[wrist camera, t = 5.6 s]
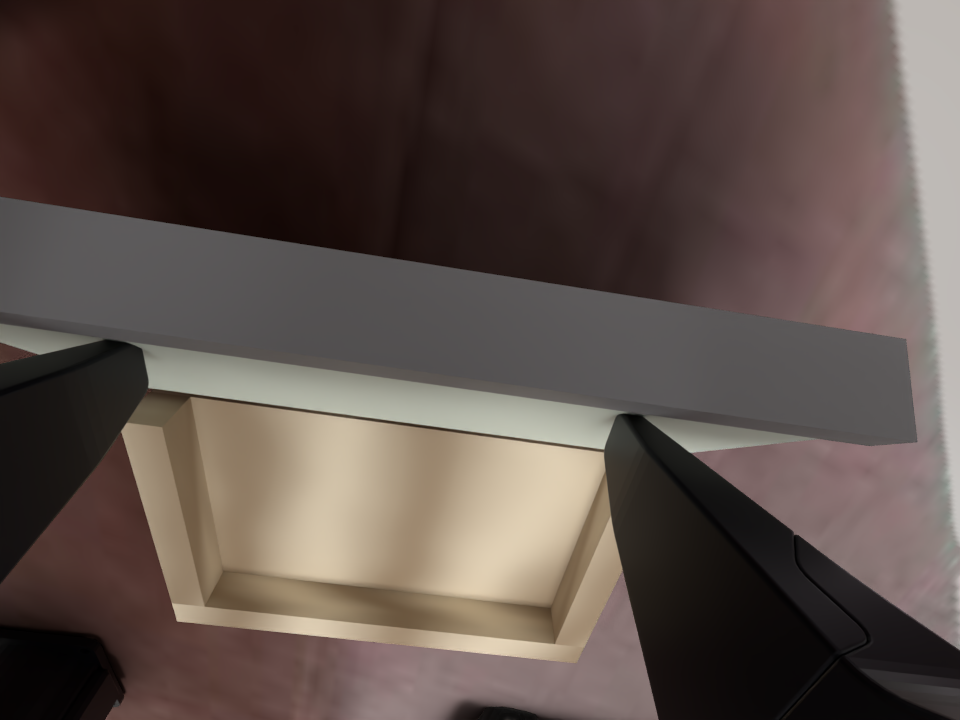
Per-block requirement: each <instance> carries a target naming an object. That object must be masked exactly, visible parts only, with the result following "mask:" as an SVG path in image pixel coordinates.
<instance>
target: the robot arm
mask: <svg viewBox="0 0 960 720" xmlns="http://www.w3.org/2000/svg"><path fill="white" fill-rule="evenodd" d="M148 386H149V379H148V374H147V369H146V364H145V359H144V354H143V350H142V348H140V347H137V346H135V345H133V344H130V343H125V342H118V341H111V340H101V341H97V342H93V343H88V344H84V345H80V346H75V347H71V348H67V349H62V350H58V351H54V352H50V353H45V354H41V355H37V356H32V357H28V358H24V359H19V360H15V361H11V362H6V363H2V364H0V584H1V583H2V582H3V580H4V579H5V578H6V577H7V575H8V574H9V573H10V572H11V571H12V569H13V568H14V567H15V566H16V565H17V563H18V562H19V561H20V560H21V558H22V557H23V556H24V555H25V554H26V552H27V551H28V550H29V549H30V548H31V546H32V545H33V544H34V543H35V541H36V540H37V539H38V538H39V537H40V535H41V534H42V533H43V532H44V531H45V529H46V528H47V527H48V526H49V524H50V523H51V522H52V521H53V520H54V518H55V517H56V516H57V515H58V514H59V512H60V511H61V510H62V509H63V507H64V506H65V505H66V504H67V503H68V501H69V500H70V499H71V498H72V497H73V495H74V494H75V493H76V492H77V490H78V489H79V488H80V487H81V486H82V484H83V483H84V482H85V481H86V480H87V478H88V477H89V476H90V475H91V473H92V472H93V471H94V470H95V468H96V467H97V466H98V465H99V463H100V462H101V461H102V459H103V458H104V456H105V455H106V454H107V452H108V451H109V449H110V448H111V446H112V445H113V443H114V442H115V440H116V439H117V437H118V436H119V434H120V433H121V431H122V430H123V428H124V426H125V425H126V423H127V422H128V420H129V419H130V417H131V416H132V414H133V413H134V411H135V410H136V408H137V407H138V405H139V404H140V402H141V401H142V399H143V398H144V396H145V394H146V392H147V390H148ZM604 462H605V470H606V479H607V487H608V496H609V504H610V513H611V520H612V526H613V531H614V536H615V540H616V544H617V548H618V553H619V557H620V561H621V565H622V569H623V573H624V577H625V582H626V586H627V590H628V594H629V598H630V602H631V607H632V611H633V615H634V619H635V623H636V627H637V631H638V636H639V640H640V644H641V648H642V652H643V656H644V661H645V665H646V669H647V673H648V677H649V681H650V685H651V690H652V694H653V698H654V702H655V706H656V710H657V714H658V719H659V720H960V650H959V649H957V648H956V647H954V646H953V645H951V644H950V643H949V642H947V641H946V640H944V639H943V638H941V637H940V636H938V635H937V634H935V633H934V632H933V631H931V630H930V629H928V628H927V627H925V626H924V625H922V624H921V623H919V622H918V621H917V620H915V619H914V618H912V617H911V616H909V615H908V614H906V613H905V612H903V611H902V610H901V609H899V608H898V607H896V606H895V605H893V604H892V603H890V602H889V601H888V600H886V599H885V598H883V597H882V596H880V595H879V594H878V593H876V592H875V591H873V590H872V589H871V588H869V587H868V586H866V585H865V584H863V583H862V582H861V581H859V580H858V579H856V578H855V577H853V576H852V575H851V574H849V573H848V572H847V571H845V570H844V569H843V568H841V567H840V566H839V565H837V564H836V563H834V562H833V561H832V560H830V559H829V558H828V557H826V556H825V555H824V554H822V553H821V552H820V551H818V550H817V549H816V548H814V547H813V546H812V545H811V544H809V543H808V542H807V541H805V540H804V539H803V538H801V537H800V536H799V535H794V532H793V531H792V530H791V529H789V528H788V527H787V526H786V525H784V524H783V523H782V522H780V521H779V520H778V519H776V518H775V517H774V516H772V515H771V514H770V513H768V512H767V511H766V510H765V509H763V508H762V507H761V506H759V505H758V504H757V503H755V502H754V501H753V500H751V499H750V498H749V497H747V496H746V495H745V494H744V493H742V492H741V491H740V490H738V489H737V488H736V487H734V486H733V485H732V484H730V483H729V482H728V481H727V480H725V479H724V478H723V477H721V476H720V475H719V474H717V473H716V472H715V471H713V470H712V469H711V468H709V467H708V466H707V465H706V464H704V463H703V462H702V461H700V460H699V459H698V458H696V457H695V456H694V455H692V454H691V453H690V452H689V451H687V450H686V449H685V448H683V447H682V446H681V445H679V444H678V443H677V442H675V441H674V440H673V439H672V438H670V437H669V436H668V435H666V434H665V433H664V432H662V431H661V430H660V429H658V428H657V427H656V426H655V425H653V424H652V423H651V422H649V421H648V420H647V419H645V418H644V417H643V416H637V415H630V414H619V415H617V416H616V418H615V420H614V423H613V425H612V428H611V431H610V433H609V436H608V439H607V441H606V444H605V448H604ZM123 699H124V695H123V692H122V690H121V688H120V686H119V684H118V682H117V679H116V677H115V675H114V673H113V671H112V668H111V666H110V664H109V662H108V660H107V658H106V655H105V653H104V651H103V649H102V647H101V644H100V643H99V642H98V641H96V640H94V639H90V638H82V637H72V636H63V635H53V634H43V633H33V632H23V631H13V630H3V629H0V720H105V719H106V717H107V715H108V714H109V712H110V710H111V709H112V707H118V706H119V705H120V704H121V702H122V700H123Z"/></svg>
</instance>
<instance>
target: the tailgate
mask: <svg viewBox="0 0 960 720" xmlns="http://www.w3.org/2000/svg"><path fill="white" fill-rule="evenodd" d="M101 340H111V341H118V342H125V343H130V344H133V345H135V346H137V347H140V348H142V350H143V354H144V359H145V364H146V369H147V374H148V379H149V386H148V388H152V389H160V390H167V391H175V392H182V393H189V394H197V395H204V396H212V397H219V398H226V399H234V400H241V401H249V402H256V403H263V404H271V405H278V406H286V407H293V408H301V409H308V410H315V411H323V412H330V413H338V414H345V415H352V416H360V417H367V418H375V419H382V420H389V421H397V422H404V423H412V424H419V425H426V426H434V427H441V428H449V429H456V430H463V431H471V432H478V433H486V434H493V435H500V436H508V437H515V438H523V439H530V440H537V441H545V442H552V443H560V444H567V445H574V446H582V447H589V448H597V449H604V448H605V444H606V441H607V439H608V436H609V433H610V431H611V428H612V425H613V423H614V420H615V418H616V416H617V415H619V414H630V415H637V416H643V417H644V418H645V419H647V420H648V421H649V422H651V423H652V424H653V425H655V426H656V427H657V428H658V429H660V430H661V431H662V432H664V433H665V434H666V435H668V436H669V437H670V438H672V439H673V440H674V441H675V442H677V443H678V444H679V445H681V446H682V447H683V448H685V449H686V450H687V451H689V452H690V453H693V452H703V451H712V450H721V449H731V448H740V447H749V446H759V445H768V444H777V443H787V442H796V441H805V440H815V439H823V440H831V441H838V442H845V443H852V444H859V445H866V446H875V445H888V444H901V443H913V442H917V434H916V425H915V416H914V407H913V398H912V389H911V380H910V370H909V361H908V352H907V343H906V339H902V338H896V337H889V336H883V335H877V334H870V333H864V332H858V331H851V330H845V329H838V328H832V327H826V326H819V325H813V324H807V323H800V322H794V321H787V320H781V319H775V318H768V317H762V316H756V315H749V314H743V313H737V312H730V311H724V310H717V309H711V308H705V307H698V306H692V305H686V304H679V303H673V302H666V301H660V300H654V299H647V298H641V297H635V296H628V295H622V294H616V293H609V292H603V291H596V290H590V289H584V288H577V287H571V286H565V285H558V284H552V283H545V282H539V281H533V280H526V279H520V278H514V277H507V276H501V275H495V274H488V273H482V272H475V271H469V270H463V269H456V268H450V267H444V266H437V265H431V264H424V263H418V262H412V261H405V260H399V259H393V258H386V257H380V256H374V255H367V254H361V253H354V252H348V251H342V250H335V249H329V248H323V247H316V246H310V245H303V244H297V243H291V242H284V241H278V240H272V239H265V238H259V237H253V236H246V235H240V234H233V233H227V232H221V231H214V230H208V229H202V228H195V227H189V226H182V225H176V224H170V223H163V222H157V221H151V220H144V219H138V218H132V217H125V216H119V215H112V214H106V213H100V212H93V211H87V210H81V209H74V208H68V207H61V206H55V205H49V204H42V203H36V202H30V201H23V200H17V199H11V198H4V197H0V342H1V343H4V344H8V345H11V346H14V347H17V348H20V349H23V350H26V351H29V352H32V353H36V354H39V355H41V354H45V353H50V352H54V351H58V350H62V349H67V348H71V347H75V346H80V345H84V344H88V343H93V342H97V341H101Z"/></svg>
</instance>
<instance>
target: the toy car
mask: <svg viewBox="0 0 960 720" xmlns="http://www.w3.org/2000/svg"><path fill="white" fill-rule="evenodd" d="M478 720H538V719H537V717H536V715H535V714H532V713H529V712H526V711H521V710H517V709H514V708H507V707H488V708H486V709H485V710H484V712H483V713H482V714H481V716H480V717H479V719H478Z"/></svg>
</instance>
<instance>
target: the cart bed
mask: <svg viewBox="0 0 960 720" xmlns="http://www.w3.org/2000/svg"><path fill="white" fill-rule="evenodd" d="M121 432H122V435H123V439H124V442H125V445H126V449H127V452H128V456H129V459H130V462H131V466H132V469H133V473H134V476H135V479H136V483H137V486H138V489H139V493H140V496H141V500H142V503H143V506H144V510H145V513H146V517H147V520H148V523H149V527H150V530H151V534H152V537H153V540H154V544H155V547H156V551H157V554H158V557H159V561H160V564H161V568H162V571H163V574H164V578H165V581H166V585H167V588H168V591H169V595H170V598H171V602H172V605H173V608H174V612H175V615H176V619H177V621H179V622H189V623H198V624H208V625H217V626H227V627H236V628H246V629H255V630H265V631H275V632H284V633H294V634H303V635H313V636H322V637H332V638H341V639H351V640H360V641H370V642H379V643H389V644H398V645H408V646H418V647H427V648H437V649H446V650H456V651H465V652H475V653H484V654H494V655H503V656H513V657H522V658H532V659H542V660H551V661H561V662H570V663H577V661H578V659H579V657H580V655H581V653H582V651H583V649H584V647H585V645H586V643H587V641H588V639H589V637H590V635H591V633H592V631H593V628H594V626H595V624H596V622H597V620H598V618H599V616H600V614H601V612H602V610H603V608H604V606H605V604H606V602H607V600H608V598H609V596H610V594H611V592H612V590H613V588H614V586H615V584H616V582H617V580H618V578H619V576H620V574H621V572H622V570H623V569H622V565H621V561H620V557H619V553H618V548H617V544H616V540H615V536H614V531H613V526H612V520H611V513H610V504H609V496H608V487H607V479H606V470H605V462H604V449H597V448H589V447H582V446H574V445H567V444H560V443H552V442H545V441H537V440H530V439H523V438H515V437H508V436H500V435H493V434H486V433H478V432H471V431H463V430H456V429H449V428H441V427H434V426H426V425H419V424H412V423H404V422H397V421H389V420H382V419H375V418H367V417H360V416H352V415H345V414H338V413H330V412H323V411H315V410H308V409H301V408H293V407H286V406H278V405H271V404H263V403H256V402H249V401H241V400H234V399H226V398H219V397H212V396H204V395H197V394H189V393H182V392H175V391H167V390H160V389H153V390H152V391H151V392H150V393H149V394H148V395H146V396H145V397H144V398H143V399H142V401H141V402H140V404H139V405H138V407H137V408H136V410H135V411H134V413H133V414H132V416H131V417H130V419H129V420H128V422H127V423H126V425H125V426H124V428H123V430H122V431H121Z"/></svg>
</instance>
